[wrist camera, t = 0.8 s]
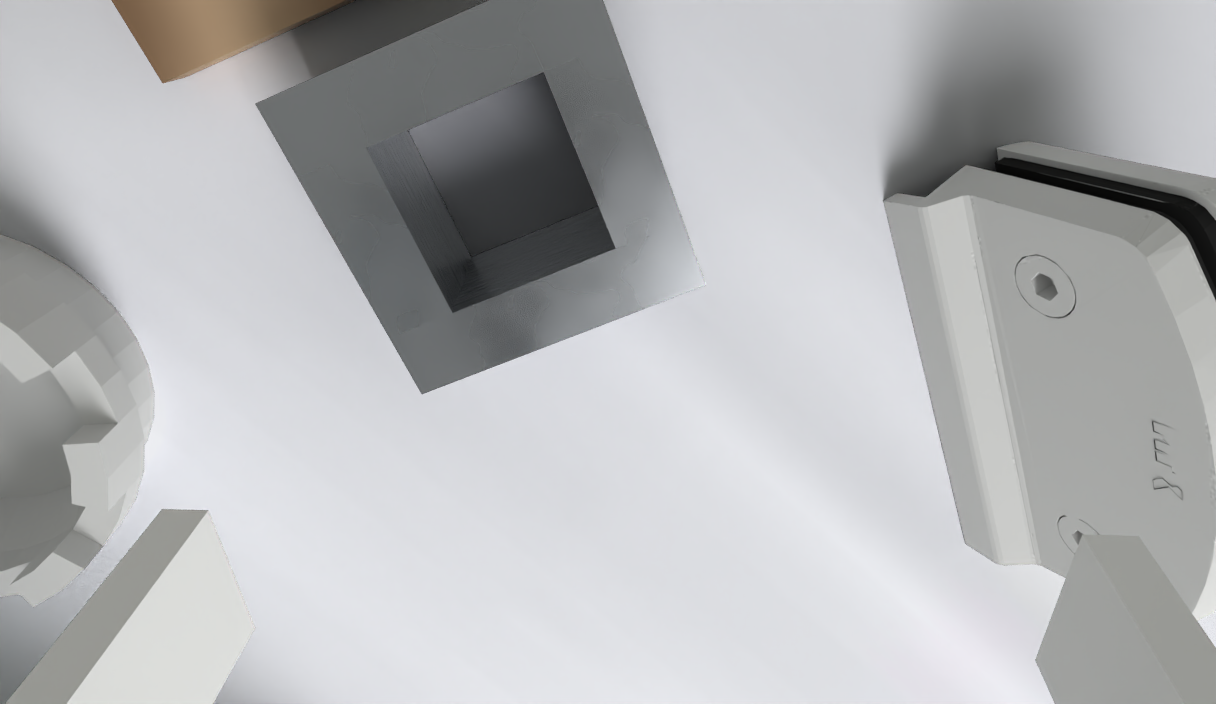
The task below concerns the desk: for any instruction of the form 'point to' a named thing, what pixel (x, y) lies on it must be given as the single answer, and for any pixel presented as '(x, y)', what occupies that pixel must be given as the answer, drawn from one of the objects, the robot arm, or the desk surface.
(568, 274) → the grey hollow square block
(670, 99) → the desk surface
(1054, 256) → the hinge
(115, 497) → the flag stand
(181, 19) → the wooden peg stand
